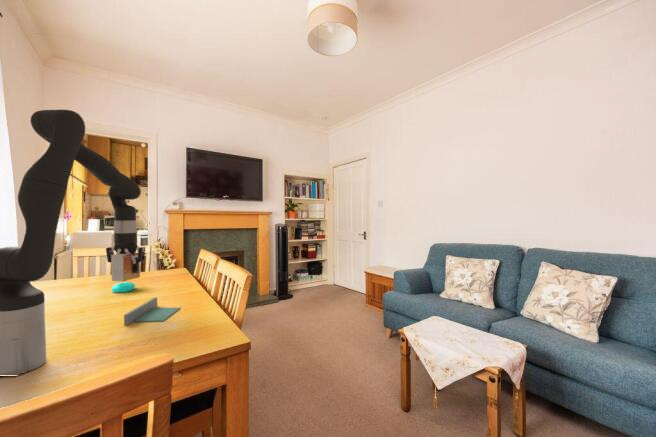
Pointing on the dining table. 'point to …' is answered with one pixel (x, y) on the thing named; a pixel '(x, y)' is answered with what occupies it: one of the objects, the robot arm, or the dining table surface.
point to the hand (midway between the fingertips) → (126, 272)
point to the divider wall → (140, 311)
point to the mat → (157, 315)
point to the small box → (123, 267)
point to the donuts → (123, 287)
